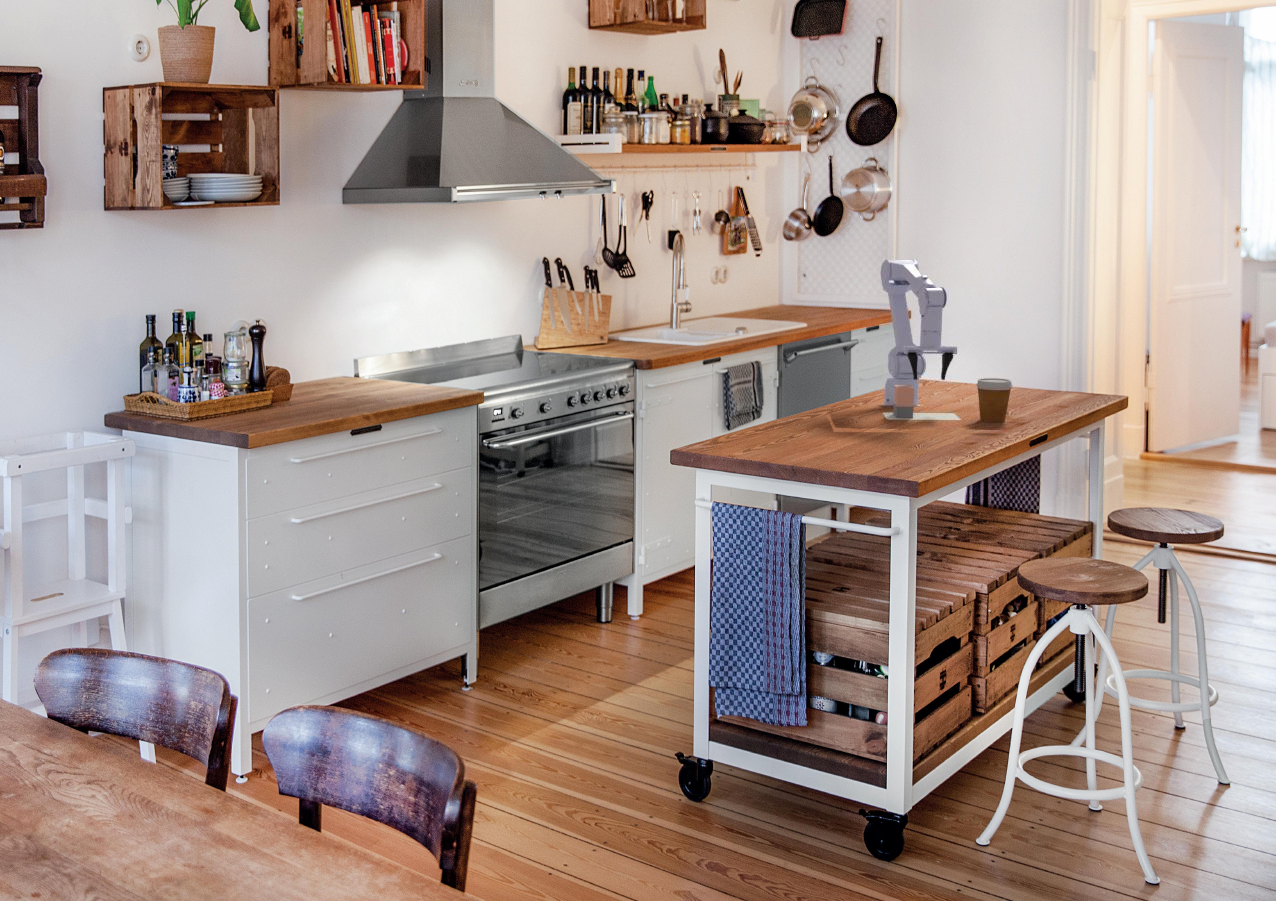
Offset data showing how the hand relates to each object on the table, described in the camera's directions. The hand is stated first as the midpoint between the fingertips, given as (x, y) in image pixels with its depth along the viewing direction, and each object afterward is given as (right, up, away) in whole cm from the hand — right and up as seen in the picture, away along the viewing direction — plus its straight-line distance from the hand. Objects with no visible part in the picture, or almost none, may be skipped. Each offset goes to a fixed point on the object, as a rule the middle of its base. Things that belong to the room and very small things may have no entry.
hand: (929, 379), depth 353 cm
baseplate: (-3, -12, -5) cm, 13 cm away
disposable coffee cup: (+14, -13, -12) cm, 23 cm away
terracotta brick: (-8, -7, -5) cm, 12 cm away
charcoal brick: (-8, -10, -5) cm, 14 cm away
